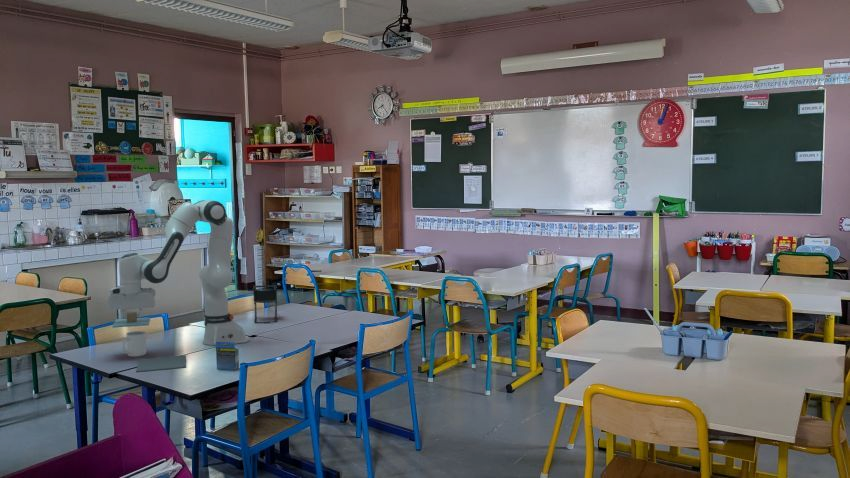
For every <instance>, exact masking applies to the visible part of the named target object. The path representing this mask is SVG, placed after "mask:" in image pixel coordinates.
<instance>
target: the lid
mask: <svg viewBox="0 0 850 478" xmlns="http://www.w3.org/2000/svg"><path fill="white" fill-rule="evenodd" d="M126 314H127V319H124V318H122V319H121V318H120V319H119V318H117V319H115V321H114V323H113V324H112V328H127V327H128V328H129V327H145V326H149V325H150V323H151V322H150V321H151V317H140V318H136V317H137V316H136V314H138V312H137V311H131V312H129V311H128V312H126Z"/></svg>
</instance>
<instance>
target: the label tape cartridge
mask: <svg viewBox="0 0 850 478" xmlns="http://www.w3.org/2000/svg"><path fill="white" fill-rule="evenodd" d="M224 344H226V345H224ZM235 345H236V344H235V343H234V342H216V346H215V354H216V356H215V357H216V359H215V360H216V370H217V369H219V370H220V371H222V370H223V371H226V370H227V371H237V370H238V369H239V368H240V358H239V357H240V354H239V353H240V352H239V349H238V348H236V347H235ZM219 370H218V371H219Z"/></svg>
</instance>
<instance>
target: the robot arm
mask: <svg viewBox="0 0 850 478" xmlns="http://www.w3.org/2000/svg"><path fill="white" fill-rule="evenodd" d="M198 222H204V223H209V225H210V233H209V239H208V248H207V255H208V264H207V265H204V266H202V267H201V268H200V270H199V278H200V282H201V287H202V293H203V298H204V317H203V321H204V322H203V323H204V333H203V340H202V344H203V345H207V346H215V347H216V342H234V343H235V345H236V344H245V343H248V342H249V341H250V337H249V336H248V335H246V334H245V330H244V328H243V327H242V326H241V325H240V324H238V323H237V322H235V321H234V318H235V317H234V315H233V314H231V313H229V301H228V300H229V299H228V295H227V292H226V289H225V288H228V287H229V286H230V285H231V284H232V282H233V275H232V265H231V264H232V263H231V262H232V261H231V253H232V247H233V240H234V221H233V220H232V218H231V217H228V215H227V211H226V207H225V205H224V204H223V203H222V202H220V201H217V200H212V199H207V200H199V201H197V202H195V203H192V202H189V201H186V202H183V203H181V204H180V205H179V207H177V208H176V209H175V211H174V212H173V213H172V214H171V216H170V217H169V219H168V221H167V222H166V225H165V227H164V235H165V237H166V239H165V240H166V241H165V244H164V246H163V248H162V250H161V251H160V253H159V255H158V256H157V257H156V258H155V259H152V258H147V257H146V256H142V255H141V254H139V253H137V252H132V253H128V254H123V255H122V256H121V257H120V261H119V275H120V281H119V285H117V286H114V287H112V288H110V289H109V296H108V298H107V304H106V306H107V307H106V308H107V310H109V311H113V310H114V311H115V310H120V313H121V314H122V315H123V319H127V313H126V312H125V310H130V309H131V310H132V309H133V310H134V309H138V311H139V312H137V314H136V316H137V317H136V318H141V313H142V312H143V309H151V308H154V307H155V305H156V301H155V296H156V290H155V289H154V288H152V287H142V280H146V281H148V282H149V283H152V284H161V283H163V282H164V281H165V280H166V279H167V277H168V275H169V272H170V271H169V270H170V266H171V264H172V263H173V261H174V259H175V257H176V255H177V253H178V252H179V250H180V248H181V247H182V244H183V243H184V241H185V240H186V238H187V237H188V235H189V234H190V232H191V231H192V229H193V228H194V226H195V225H196V224H197V223H198ZM223 346H227V345H226V344H224V345H223Z"/></svg>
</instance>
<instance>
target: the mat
mask: <svg viewBox="0 0 850 478" xmlns="http://www.w3.org/2000/svg"><path fill="white" fill-rule="evenodd" d="M186 368H187V355H185V354H184V355H173V356H163V357H151V358H139V359H138V363H137V367H136V370H135V372H136V373H143V372H145V373H146V372H154V371H165V370H174V369H176V370H177V369H178V370H179V369H186Z"/></svg>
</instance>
